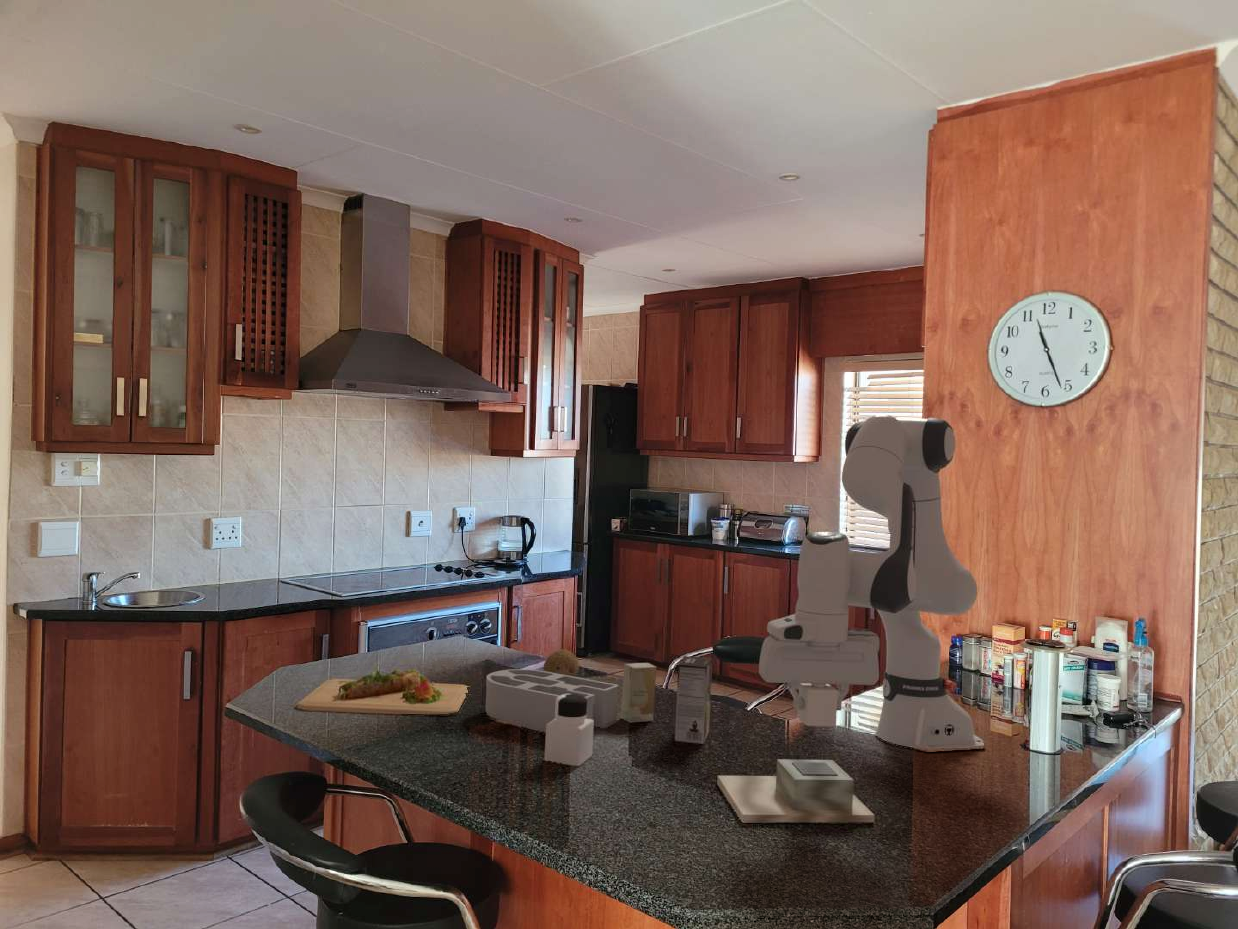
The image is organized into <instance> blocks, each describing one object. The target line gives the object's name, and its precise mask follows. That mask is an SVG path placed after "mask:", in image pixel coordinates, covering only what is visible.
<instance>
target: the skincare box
mask: <svg viewBox="0 0 1238 929" xmlns="http://www.w3.org/2000/svg"><path fill="white" fill-rule="evenodd" d="M623 666H624V668H623V683H622V694H621V695H622V696H621V710H620V718H621V719H622V720H623V721H626V722H627V723H629V724H630V723H632V724H633V723H640V722H653V721H654V708H655V694H656V692H655V691H656V678H657V666H655V665H654V664H652V663H650V662H635V663H624V665H623Z"/></svg>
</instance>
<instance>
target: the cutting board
mask: <svg viewBox="0 0 1238 929" xmlns="http://www.w3.org/2000/svg"><path fill="white" fill-rule="evenodd" d="M467 687H470V686H468V685H465V684H460V683H459V684H458V683H441V682H440V683H438V682H437V683H435V682H434V681H432V682H431V680H430V679H427V678H426V676H425V675H423V674H421V673H420V671H419V670H417V669H415V668H414V669H407V670H406V671H402V670H400V669H396V670H393V671H392V672H390V673H387V674H381V673H380V671H379V670H378V669H373V670H372V671H371V673H370V674H368V675H363V676H362V677H361V678H358V679H352V678H351V679H349V678H332V679H328V680H325V681H324V682H323V683H321V684H320V685H319V686H318V687H316V688H315V689H314V690H312V691H311V692H310V693H309V694H307V695H306V696H305V697H303V698H302V699H301V700H300V701H298V702H297V707H296V708H297V709H299V710H303V711H311V712H336V713H357V714H358V713H359V714H361V713H362V714H377V715H378V714H380V715H381V714H382V715H383V714H384V715H386V714H387V715H402V714H449V713H454V712H458V711H459V709H460V707H461V705H462V703H463V701H464V699H465V698H466V694H465V693H468V690H467ZM399 713H400V714H399ZM401 713H402V714H401Z"/></svg>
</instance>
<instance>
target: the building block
mask: <svg viewBox="0 0 1238 929" xmlns="http://www.w3.org/2000/svg"><path fill="white" fill-rule="evenodd" d="M838 690H839V689H836V688H835V687H833V686H832V684H810V683H800V684H799V690H798V695H799V697H802V698H803V699H805V704H804V706H805V708H804V710H797V718H798V719H799V720H800V722H802V723H803V724H805V726H806V727H837V715H838V714H837V713H838V712H837V711H838V710H837V695H838Z"/></svg>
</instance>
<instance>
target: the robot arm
mask: <svg viewBox="0 0 1238 929" xmlns="http://www.w3.org/2000/svg"><path fill="white" fill-rule="evenodd" d="M844 448H845V449H844V452H845V460H844V462H843V467H842V472H841V483H842V487H843V489H844V491H845V492H846V494H847V495H848V497H849V498H850V499H851V500H852V501H853V502H854V503H856V504H857V505H859V506H860V507H862V508H863V509H866V510H868V511H871V512H873V513H876V514H878V515H881V516H882V517H884V518H886V519H887V529H888V533H889V549H887V550H885V551H883V552H868V551H858V550H852V549H850V548H851V547H850V540H849V537H848V536H847V535H846V534H844V533H840V532H838V531H837V532H836V531H831V530H823V531H813V532H811V533H809V534H807V535H805V536H804V538H803V540H802V544H801V546H800V548H801V549H800V553H799V557H798V567H797V575H796V576H797V579H796V580H797V581H796V584H797V589H798V598H797V601H796V603H795V612H794V614H790V615H787V616H784V617H781V618H777V619H772V620H770V621H769V622H768V623H767V626H766V632H768V633H769V635H768V636H766V637H765V639H764V640H763V642H762V644H761V645H762V646H761V650H760V655H759V663H758V664H759V665H758V674H759V675H760V677H761V679H763V680H764V682H766V683H769V684H770V683H777V684H778V683H782V684H787V689H788V690H789V692H790V694H791V695H792V699H793V702H792V706H793V707H792V708H793V709H795V710H797V711H798V710H804V708H805V706H804V704H805V699H803V698H802V697H799V692H798V691H799V684H800V683H810V684H829V685H836V688H837V690H838V695H837V711H842V704H843V703H842V701H844V699H845V698H846V696H847V694H848V693H849V691H850V685H851V686H852V685H855V686H856V685H858V686H862V685H863V686H875V685H876V683H877V682H878V681H879V678H880V667H879V666H880V665H879V657H878V652H880V651H879V650H880V638H879V635H878V634H877V633H875V632H873V630H871V629H867V628H864V629H859V628H849V615H850V614H849V613H850V608H849V606H852V607H860V608H867V609H874V610H876V611H877V612H878V614H879V616H880V618H881V621H882V624H883V627H884V632H885V638H886V639H885V640H886V662H885V663H886V666H885V670H884V671H883V681H882V697H883V700H882V702H883V703H882V708H881V713H880V717H879V721H878V724H877V728H876V731H875V733H874V735H875V734H876V735H875V737H876V736H878V737H879V738H881V739H883V740H885V741H888V742H893V743H896V744H901V745H906V746H913V747H916V748H922V749H927V750H930V749H941V748H970V747H978V746H984V743H985V742H984V740H983V739H981V738H980V737H979V736H978V735H977V734H975V730H974V723H973V719H972V717H971V715H970V714H969V713H968V712H967V711H966V710H965V709H964V708H962V706H961V705H959V704H958V703H957V701H955V700H954V699H952V697H951V696H949V695H948V694H947V690H948V691H950V692H955V691H956V689H957V688H958V687H957V684H956V683H955V682H954V681H952V680H950V679H948V680H947V679H945V678H943V677H942V676H940V672H941V670H940V668H941V653H942V652H941V651H942V650H941V648H942V647H941V641H940V640H939V637H938V636H937V635H936V633H934V632H933V631H932V630H931V629H929V628H928V627H927V626H926V624H925V623H924V621H923V619H922V616H921V614H920V612H922V613H928V614H934V615H941V616H953V615H955V616H956V615H964V614H967V613H968V612H969V611H970V610H971V609H972V608H973V606H974V605H975V603H976V601H977V595H978V585H977V582H976V579H975V577H974V575H973V574H972V573H971V572H970V570H969V569H967V568H966V567H964V565H963V564H961V562H960V561H959V560H958V558H956V556H955V554H954V553H953V552H952V550H951V548H950V545H949V544H948V541H947V539H946V535H945V532H944V526H943V525H944V524H943V523H944V522H943V515H942V514H943V513H942V499H941V498H942V496H941V492H942V491H941V482H940V475H939V472H940V471H941V470H942V469H944V468H946V467H947V466H948V465H949V464H950V463H951V462H952V461H953V458H954V454H955V451H956V450H955V449H956V436H955V432H954V429H953V427H952V425H951V424H950V423H949V422H948V421H947V420H946V419H941V418H938V417H929V418H924V417H923V418H922V417H911V416H910V417H909V416H908V417H906V416H904V417H903V416H902V417H901V416H900V417H894V416H892V415H889V414H888V415H887V414H877V415H872V416H871V417H868V418H867V419H865V420H862V421H859V422H858V421H857V422H856V423H854V424H853V425H852V426H850V427H849V429H848V430H847V432H846V435H845V440H844ZM797 690H798V691H797ZM878 737H877V738H878ZM879 738H878V739H879ZM881 739H880V740H881ZM883 740H882V741H883ZM885 741H884V742H885ZM977 741H980V742H977ZM888 742H887V743H888ZM983 742H984V743H983Z"/></svg>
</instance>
